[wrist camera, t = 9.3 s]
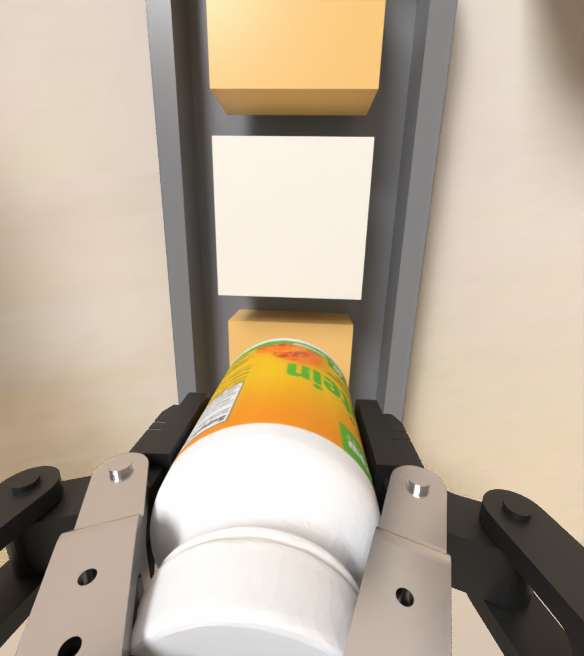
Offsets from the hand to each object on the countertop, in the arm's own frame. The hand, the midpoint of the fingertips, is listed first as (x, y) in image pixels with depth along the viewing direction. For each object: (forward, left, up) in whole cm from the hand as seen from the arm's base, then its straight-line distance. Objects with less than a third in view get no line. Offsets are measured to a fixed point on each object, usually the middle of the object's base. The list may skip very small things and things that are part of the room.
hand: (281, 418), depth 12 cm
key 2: (-7, 0, -5) cm, 9 cm away
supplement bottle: (0, 0, -2) cm, 2 cm away
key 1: (-15, 0, -5) cm, 15 cm away
